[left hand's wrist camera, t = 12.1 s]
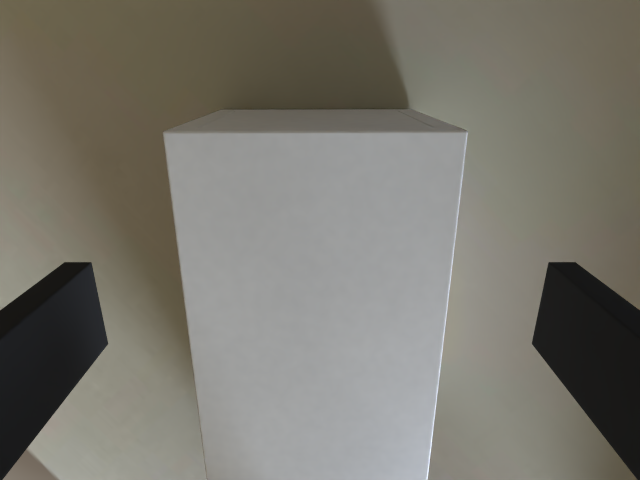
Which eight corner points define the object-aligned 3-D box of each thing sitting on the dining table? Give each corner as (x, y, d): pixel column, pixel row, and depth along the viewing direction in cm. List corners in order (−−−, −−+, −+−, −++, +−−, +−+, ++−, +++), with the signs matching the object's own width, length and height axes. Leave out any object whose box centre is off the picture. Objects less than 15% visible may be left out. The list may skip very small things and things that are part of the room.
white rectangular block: (392, 387, 34) (423, 516, 24) (242, 387, 34) (211, 517, 24) (412, 109, 26) (468, 130, 17) (219, 109, 26) (161, 131, 17)
